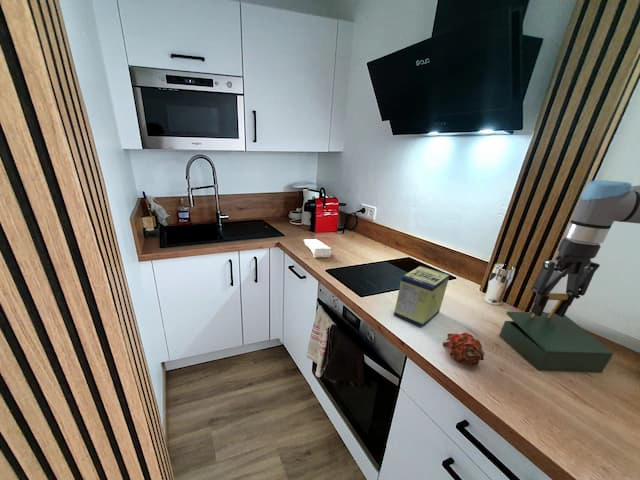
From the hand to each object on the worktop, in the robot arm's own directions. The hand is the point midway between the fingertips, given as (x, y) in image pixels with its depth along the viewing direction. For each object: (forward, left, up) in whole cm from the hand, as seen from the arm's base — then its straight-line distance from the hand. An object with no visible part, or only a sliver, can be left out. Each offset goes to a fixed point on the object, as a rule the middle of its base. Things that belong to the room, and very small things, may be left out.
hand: (546, 314), depth 85 cm
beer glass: (+7, -26, -11) cm, 29 cm away
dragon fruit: (+22, +19, -11) cm, 31 cm away
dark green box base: (-2, +4, -10) cm, 12 cm away
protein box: (+34, -1, -11) cm, 36 cm away
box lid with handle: (-2, +4, -4) cm, 6 cm away
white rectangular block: (+89, -49, -11) cm, 102 cm away
